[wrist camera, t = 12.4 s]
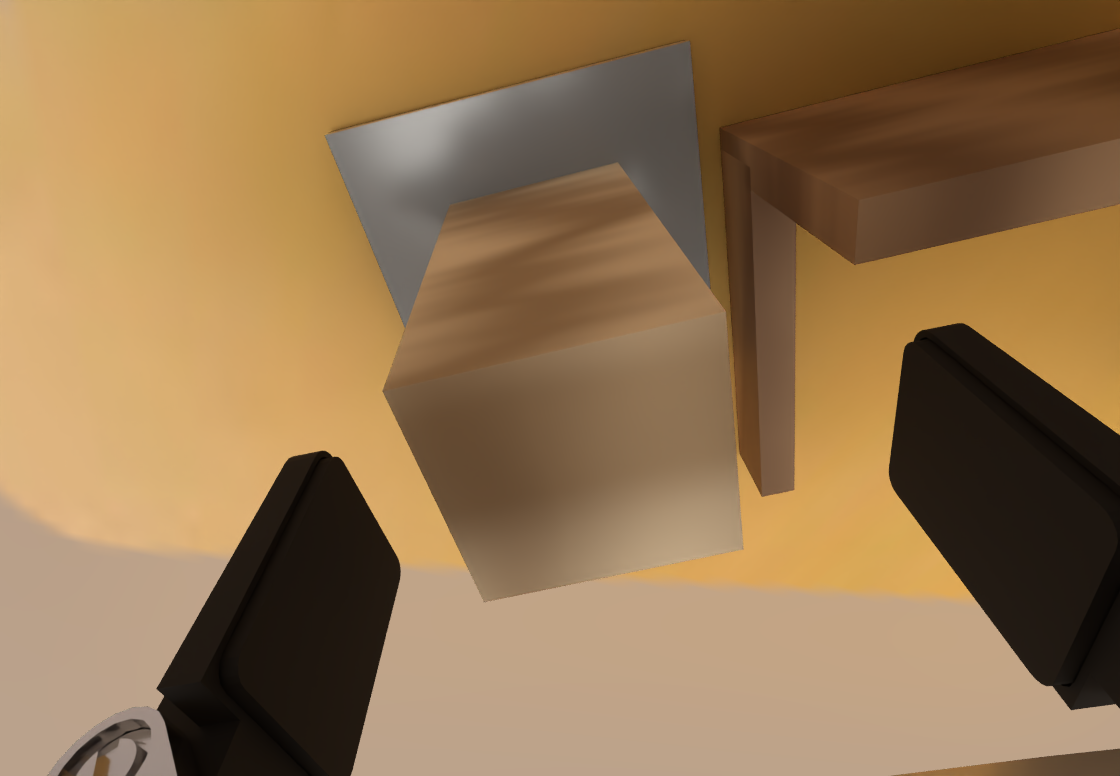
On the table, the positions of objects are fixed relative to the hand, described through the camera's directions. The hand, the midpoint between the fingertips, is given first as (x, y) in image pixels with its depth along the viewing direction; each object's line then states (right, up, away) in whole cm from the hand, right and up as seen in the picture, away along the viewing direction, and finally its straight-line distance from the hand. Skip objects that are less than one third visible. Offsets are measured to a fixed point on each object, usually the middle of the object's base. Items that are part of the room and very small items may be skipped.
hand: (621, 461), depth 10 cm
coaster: (-2, +5, +9) cm, 10 cm away
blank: (-1, +5, +8) cm, 10 cm away
